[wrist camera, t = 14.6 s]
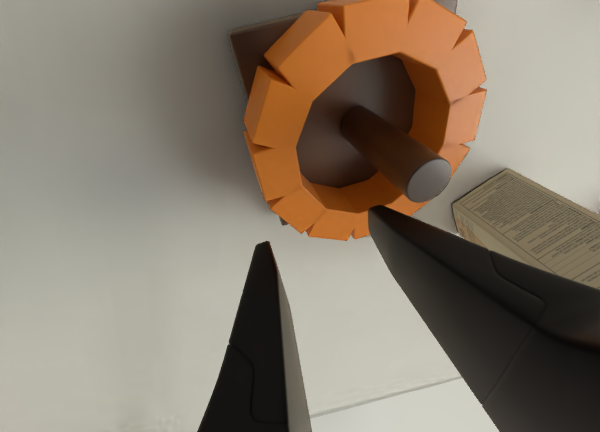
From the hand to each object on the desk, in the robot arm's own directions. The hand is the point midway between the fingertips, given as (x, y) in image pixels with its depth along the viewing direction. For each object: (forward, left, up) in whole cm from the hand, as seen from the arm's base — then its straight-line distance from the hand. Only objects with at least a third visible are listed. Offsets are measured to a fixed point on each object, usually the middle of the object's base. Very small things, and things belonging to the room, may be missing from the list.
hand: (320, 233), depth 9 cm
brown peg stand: (+4, 0, -8) cm, 9 cm away
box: (+15, -10, -8) cm, 20 cm away
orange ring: (+4, 0, -7) cm, 8 cm away
